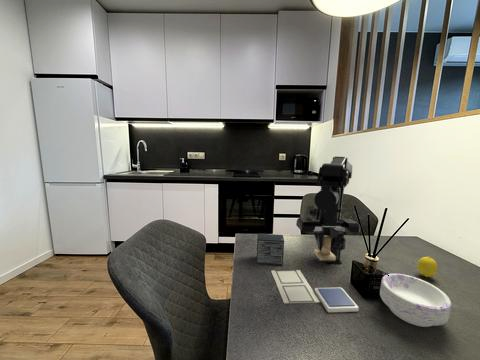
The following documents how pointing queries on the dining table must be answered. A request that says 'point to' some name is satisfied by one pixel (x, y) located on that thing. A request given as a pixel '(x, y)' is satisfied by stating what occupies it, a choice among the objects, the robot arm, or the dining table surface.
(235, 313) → the dining table surface
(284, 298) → the print sheet
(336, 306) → the ink pad
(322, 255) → the stamp
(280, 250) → the small box
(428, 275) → the lemon
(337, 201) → the robot arm
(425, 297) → the paper bowls
